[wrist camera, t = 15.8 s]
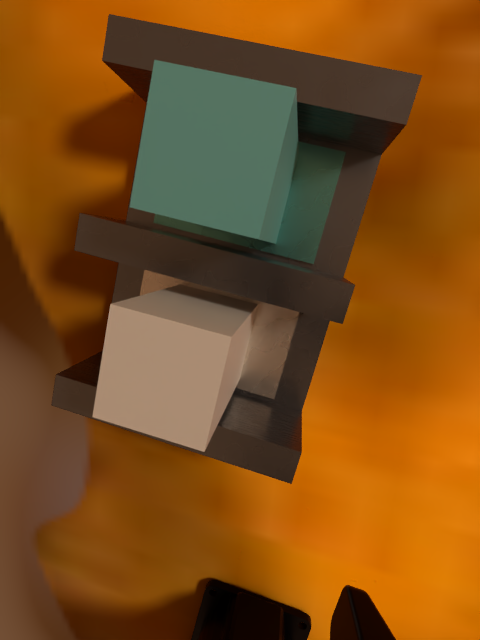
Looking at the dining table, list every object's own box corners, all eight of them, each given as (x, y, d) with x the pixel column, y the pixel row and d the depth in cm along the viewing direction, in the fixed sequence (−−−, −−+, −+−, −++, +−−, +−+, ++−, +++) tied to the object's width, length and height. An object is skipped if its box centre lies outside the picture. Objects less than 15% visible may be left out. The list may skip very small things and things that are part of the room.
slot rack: (287, 447, 20) (283, 509, 16) (104, 389, 22) (47, 430, 17) (396, 96, 17) (435, 32, 12) (165, 49, 18) (114, -27, 13)
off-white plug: (257, 304, 18) (231, 337, 11) (239, 379, 19) (204, 451, 12) (180, 284, 19) (110, 303, 12) (165, 358, 19) (92, 417, 13)
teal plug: (298, 154, 17) (296, 87, 10) (275, 243, 17) (258, 239, 11) (213, 135, 17) (154, 59, 10) (195, 223, 18) (129, 207, 11)
